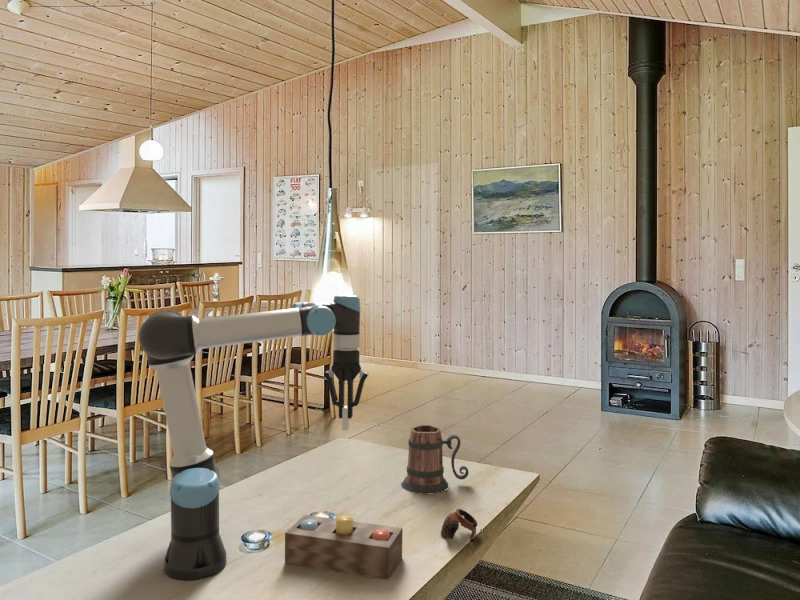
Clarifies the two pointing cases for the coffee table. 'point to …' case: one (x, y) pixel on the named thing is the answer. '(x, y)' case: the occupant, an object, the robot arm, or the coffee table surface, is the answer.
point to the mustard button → (344, 525)
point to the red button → (381, 535)
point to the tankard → (428, 461)
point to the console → (344, 548)
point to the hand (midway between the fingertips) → (345, 429)
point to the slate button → (309, 524)
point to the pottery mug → (453, 523)
